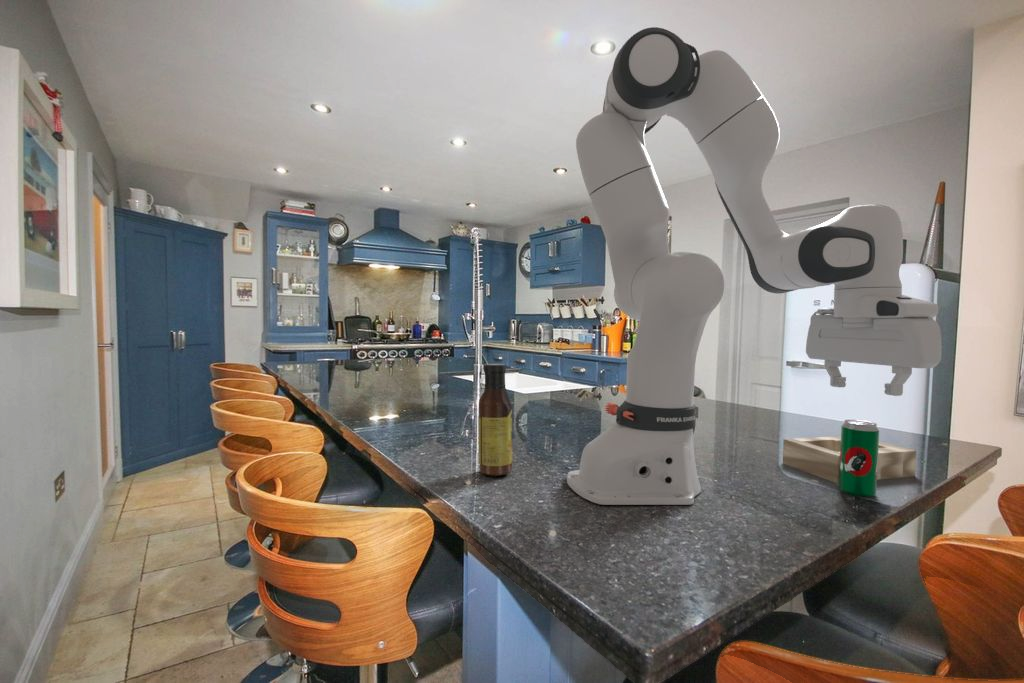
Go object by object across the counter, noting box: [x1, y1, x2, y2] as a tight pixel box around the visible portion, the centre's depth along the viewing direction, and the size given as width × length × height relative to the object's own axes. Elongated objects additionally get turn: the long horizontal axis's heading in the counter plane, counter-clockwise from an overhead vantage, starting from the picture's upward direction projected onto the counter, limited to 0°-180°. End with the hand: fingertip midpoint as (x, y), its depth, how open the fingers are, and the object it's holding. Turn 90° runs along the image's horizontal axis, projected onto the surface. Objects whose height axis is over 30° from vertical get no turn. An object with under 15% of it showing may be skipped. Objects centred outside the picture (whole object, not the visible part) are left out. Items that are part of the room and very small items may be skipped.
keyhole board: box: [782, 435, 917, 484], centre depth 90 cm, size 18×12×5 cm, turn 104°
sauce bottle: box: [477, 363, 514, 477], centre depth 86 cm, size 6×6×20 cm
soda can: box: [838, 419, 880, 499], centre depth 77 cm, size 5×5×12 cm
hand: (864, 390), depth 77 cm, fingers open, 8 cm apart
